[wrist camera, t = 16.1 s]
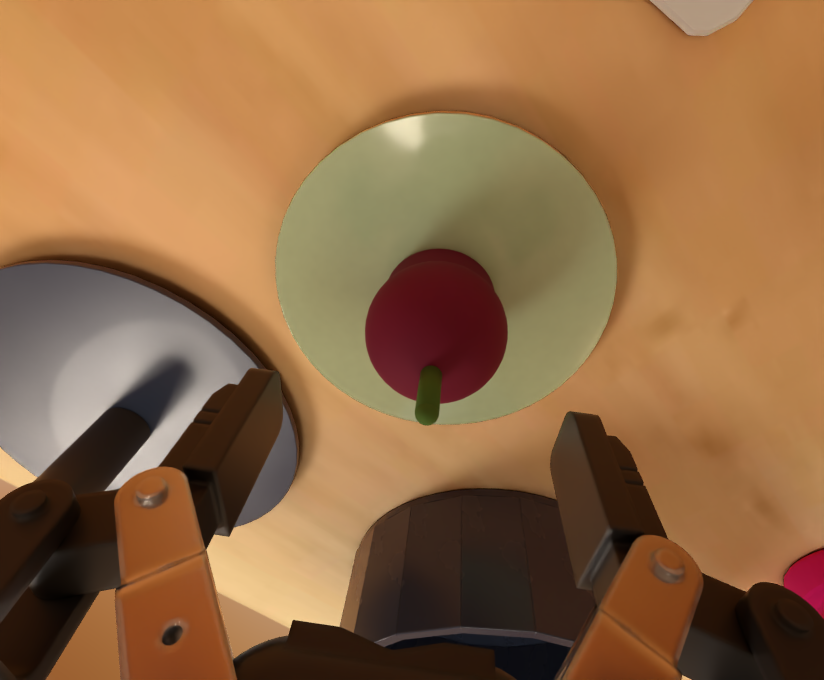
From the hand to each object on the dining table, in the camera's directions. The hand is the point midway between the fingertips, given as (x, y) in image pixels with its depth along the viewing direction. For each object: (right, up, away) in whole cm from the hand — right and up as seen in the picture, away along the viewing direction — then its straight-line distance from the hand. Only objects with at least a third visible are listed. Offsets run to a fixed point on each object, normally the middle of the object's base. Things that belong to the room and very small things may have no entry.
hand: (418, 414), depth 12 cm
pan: (+5, -14, +18) cm, 23 cm away
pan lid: (-16, -2, +12) cm, 20 cm away
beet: (+1, +4, +6) cm, 7 cm away
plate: (+1, +4, +7) cm, 8 cm away
